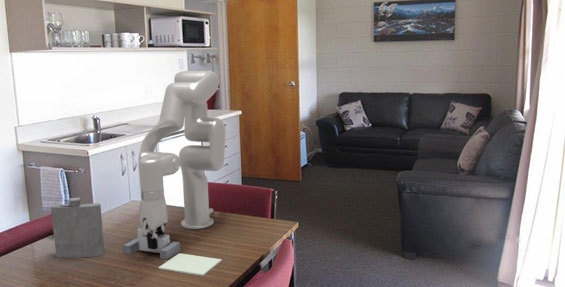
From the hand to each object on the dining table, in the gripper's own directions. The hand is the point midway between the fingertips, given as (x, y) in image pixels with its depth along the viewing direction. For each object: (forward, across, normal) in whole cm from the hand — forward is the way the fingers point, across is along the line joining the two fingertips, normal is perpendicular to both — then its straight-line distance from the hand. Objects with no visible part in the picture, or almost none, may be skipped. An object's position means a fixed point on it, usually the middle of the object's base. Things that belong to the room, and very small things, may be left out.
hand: (156, 245), depth 171 cm
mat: (+2, +6, +16) cm, 18 cm away
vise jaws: (+2, 0, -2) cm, 3 cm away
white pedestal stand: (+2, 0, -1) cm, 2 cm away
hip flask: (+2, +10, -24) cm, 26 cm away
